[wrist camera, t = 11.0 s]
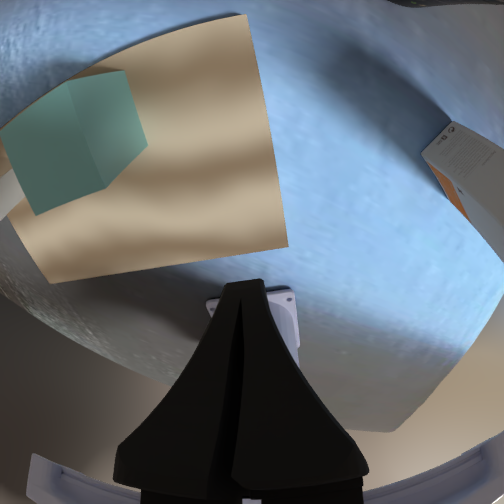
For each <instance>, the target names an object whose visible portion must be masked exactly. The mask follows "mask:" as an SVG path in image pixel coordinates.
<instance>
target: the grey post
mask: <svg viewBox="0 0 504 504" xmlns="http://www.w3.org/2000/svg"><path fill="white" fill-rule="evenodd" d="M24 197H25V194H24V192H23V190H22V188H21V186H20V184H19V182H18V179H17V177H16V175H15V173H14V170H13V168H12V169H11V170H9V171H8V172H6V173H5V174H4V175H2V176H1V177H0V221H1V220H2V219H3V218H4V217H5V216H6V215H7V214H8V213H9V212H10V211H11V210H12V209H13V208H14V207H15V206H16V205H17V204H18V203H19V202H20V201H21V200H22V199H23V198H24Z"/></svg>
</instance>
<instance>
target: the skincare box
mask: <svg viewBox="0 0 504 504" xmlns="http://www.w3.org/2000/svg"><path fill="white" fill-rule="evenodd" d="M421 156H422V157H423V158H424V160H425V161H426V162H427V164H428V165H429V167H430V169H431V170H432V172H433V173H434V175H435V176H436V178H437V179H438V181H439V183H440V185H441V187H442V188H443V190H444V192H445V194H446V196H447V198H448V200H449V201H450V202H451V203H452V204H453V205H454V206H455V207H456V208H457V209H458V210H459V211H460V212H461V214H462V215H463V216H464V217H465V218H466V219H467V220H468V221H469V222H470V223H471V224H472V225H473V227H474V228H475V229H476V230H477V231H478V232H479V233H480V235H481V236H482V237H483V238H484V239H485V240H486V242H487V243H488V244H489V245H490V246H491V248H492V249H493V250H494V251H495V253H496V254H497V255H498V256H499V258H500V259H501V260H502V262H503V263H504V149H502V148H501V147H499V146H498V145H496V144H495V143H493V142H491V141H490V140H488V139H486V138H485V137H483V136H481V135H479V134H478V133H476V132H474V131H472V130H470V129H468V128H467V127H465V126H463V125H461V124H459V123H457V122H455V121H452V122H451V123H450V124H449V125H448V126H447V127H446V128H445V129H444V130H443V131H442V132H441V133H440V134H439V135H438V136H437V137H436V138H435V139H434V140H433V141H432V142H431V143H430V144H429V145H428V146H427V147H426V148H425V149H424V150H423V151H422V152H421Z"/></svg>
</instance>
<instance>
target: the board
mask: <svg viewBox="0 0 504 504" xmlns="http://www.w3.org/2000/svg"><path fill="white" fill-rule="evenodd" d="M123 70H125V74H126V77H127V81H128V84H129V87H130V91H131V94H132V97H133V100H134V104H135V107H136V110H137V113H138V116H139V119H140V122H141V125H142V128H143V131H144V134H145V137H146V140H147V143H148V146H147V147H146V148H145V149H144V150H143V151H142V152H141V153H140V154H139V155H138V156H137V157H136V158H135V159H134V160H133V161H132V162H131V163H130V164H129V165H128V166H127V167H126V168H125V169H124V170H123V171H122V172H121V173H120V174H119V175H118V176H117V177H116V178H115V179H114V180H113V181H112V183H111V184H110V185H109V186H108V187H107V188H106V189H103V190H100V191H98V192H95V193H92V194H89V195H87V196H84V197H81V198H79V199H76V200H73V201H71V202H68V203H66V204H63V205H61V206H58V207H56V208H54V209H51V210H49V211H47V212H44V213H42V214H40V215H37V216H35V214H34V212H33V210H32V208H31V206H30V204H29V202H28V200H27V198H26V196H25V197H24V198H23V199H22V200H21V201H20V202H19V203H18V204H17V205H16V206H15V207H14V208H13V209H12V210H11V211H10V212H9V213H8V214H7V216H8V218H9V220H10V221H11V223H12V225H13V227H14V229H15V230H16V232H17V234H18V236H19V237H20V239H21V241H22V242H23V244H24V246H25V247H26V249H27V251H28V252H29V254H30V255H31V257H32V258H33V260H34V261H35V263H36V264H37V266H38V267H39V269H40V270H41V272H42V273H43V275H44V276H45V277H46V279H47V280H48V282H49V283H50V284H53V283H60V282H66V281H73V280H79V279H86V278H92V277H99V276H105V275H112V274H118V273H125V272H131V271H137V270H144V269H150V268H157V267H163V266H170V265H176V264H183V263H189V262H195V261H202V260H208V259H215V258H221V257H228V256H234V255H240V254H247V253H253V252H260V251H266V250H272V249H279V248H285V247H288V240H287V232H286V225H285V218H284V212H283V205H282V198H281V192H280V186H279V179H278V173H277V167H276V161H275V155H274V149H273V144H272V138H271V132H270V127H269V121H268V116H267V110H266V105H265V100H264V95H263V90H262V85H261V80H260V75H259V70H258V65H257V60H256V56H255V51H254V46H253V42H252V37H251V33H250V29H249V24H248V20H247V16H246V14H244V15H238V16H232V17H227V18H222V19H218V20H213V21H209V22H205V23H201V24H197V25H194V26H190V27H186V28H183V29H180V30H176V31H173V32H170V33H167V34H164V35H161V36H158V37H156V38H153V39H150V40H148V41H145V42H142V43H140V44H137V45H135V46H132V47H130V48H128V49H125V50H123V51H121V52H119V53H116V54H114V55H112V56H110V57H108V58H106V59H104V60H102V61H100V62H98V63H96V64H94V65H92V66H90V67H88V68H87V69H85V70H83V71H81V72H79V73H78V74H76V75H74V76H72V77H71V78H69V79H67V80H66V81H70V80H74V79H78V78H83V77H88V76H93V75H98V74H103V73H109V72H116V71H123ZM66 81H64V82H66ZM64 82H62V83H61V84H63V83H64ZM61 84H59V85H58V86H60V85H61ZM58 86H56V87H55V88H57V87H58ZM55 88H53V89H52V90H54V89H55ZM52 90H50V91H48V92H47V93H46V94H48V93H49V92H51V91H52ZM46 94H44V95H43V96H45V95H46ZM43 96H41V97H40V98H38V99H37V100H36V101H38V100H39V99H41V98H42V97H43ZM36 101H34V102H33V103H31V104H30V105H29V106H27V107H26V108H25V109H23V110H22V111H21V112H20V113H18V114H17V115H16V116H15V117H13V118H12V119H11V120H10V121H9V122H7V123H6V124H5V125H4V126H3V127H2V128H0V131H1V130H2V129H3V128H4V127H5V126H6V125H7V124H9V123H10V122H11V121H12V120H13V119H15V118H16V117H17V116H18V115H19V114H21V113H22V112H23V111H25V110H26V109H27V108H28V107H30V106H31V105H32V104H34V103H35V102H36ZM11 169H12V166H11V163H10V161H9V158H8V156H7V153H6V151H5V148H4V145H3V143H2V140H1V137H0V177H1V176H2V175H4V174H5V173H6V172H8V171H9V170H11Z"/></svg>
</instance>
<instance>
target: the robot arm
mask: <svg viewBox="0 0 504 504" xmlns="http://www.w3.org/2000/svg"><path fill="white" fill-rule="evenodd" d="M206 308H207V310H208V312H209V314H210V316H211V320H210V322H209V325H208V327H207V329H206V331H205V333H204V335H203V337H202V339H201V341H200V342H199V344H198V346H197V348H196V350H195V352H194V354H193V355H192V357H191V359H190V360H189V362H188V364H187V365H186V367H185V369H184V370H183V372H182V373H181V375H180V376H179V378H178V379H177V381H176V382H175V383H174V385H173V386H172V388H171V389H170V390H169V392H168V393H167V394H166V396H165V397H164V398H163V399H162V401H161V402H160V403H159V404H158V405H157V407H156V408H155V409H154V410H153V411H152V412H151V414H150V415H149V416H148V417H147V418H146V419H145V420H144V421H143V422H142V423H141V425H140V426H139V427H138V428H137V429H135V430H134V431H133V432H132V433H131V434H130V435H129V436H128V437H127V438H126V439H125V440H124V441H123V442H122V443H121V444H120V445H119V446H118V448H117V452H116V457H115V464H114V473H113V480H114V482H116V483H119V484H122V485H126V486H130V487H134V488H138V489H141V492H137V491H133V490H129V489H125V488H122V487H118V486H114V485H111V484H108V483H105V482H102V481H99V480H96V479H93V478H90V477H88V476H85V475H84V474H83V473H80V472H77V471H75V470H72V469H70V468H68V467H65V466H62V465H60V464H56V463H54V462H52V461H49V460H47V459H45V458H43V457H41V456H39V455H37V454H35V453H33V454H32V458H31V464H30V470H29V476H28V483H27V493H26V495H27V496H28V497H29V498H30V499H32V500H33V501H35V502H36V503H37V504H493V503H494V502H496V501H497V500H498V499H500V498H501V497H502V496H503V495H504V431H502V432H501V433H499V434H498V435H496V436H494V437H492V438H489V439H488V440H486V441H484V442H482V443H480V444H479V445H477V446H475V447H473V448H471V449H470V450H468V451H466V452H464V453H462V455H461V456H459V457H457V458H455V459H453V460H450V461H448V462H446V463H444V464H442V465H440V466H437V467H435V468H433V469H430V470H428V471H426V472H423V473H421V474H418V475H415V476H413V477H410V478H407V479H404V480H401V481H398V482H395V483H392V484H389V485H386V486H383V487H379V488H376V489H371V490H368V491H364V492H363V491H362V486H363V478H362V476H365V475H367V474H368V473H369V467H368V464H367V462H366V460H365V458H364V456H363V454H362V453H361V451H360V450H359V448H358V446H357V444H356V443H355V441H354V440H353V439H352V437H351V436H350V435H349V434H348V433H347V432H346V431H345V430H344V428H343V427H342V426H341V425H340V424H339V423H338V421H337V420H336V419H335V418H334V417H333V415H332V414H331V413H330V412H329V410H328V409H327V408H326V407H325V405H324V404H323V402H322V401H321V400H320V398H319V397H318V396H317V394H316V393H315V391H314V390H313V389H312V387H311V386H310V384H309V383H308V381H307V380H306V378H305V377H304V375H303V374H302V372H301V370H300V368H299V360H298V352H297V348H298V347H299V346H300V340H299V330H298V321H297V312H296V303H295V295H294V291H293V290H292V289H285V290H278V291H272V292H266V289H265V285H264V280H262V279H260V278H259V279H252V280H245V281H238V282H231V283H226V285H225V286H224V289H223V291H222V294H221V297H220V299H211V300H208V301H207V302H206Z"/></svg>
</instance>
